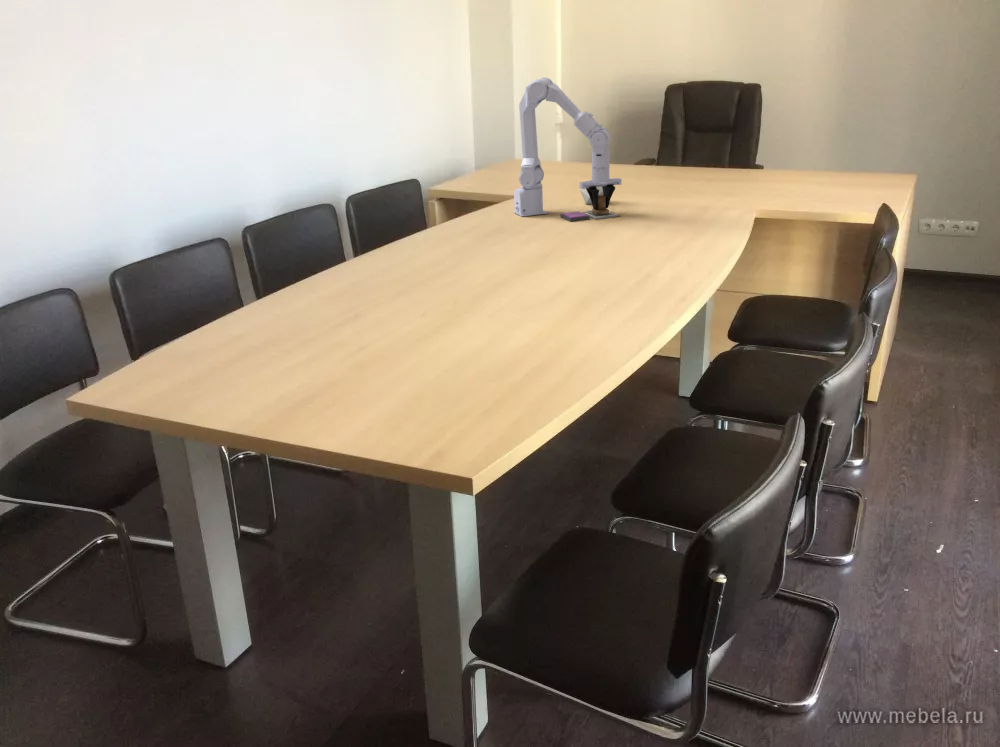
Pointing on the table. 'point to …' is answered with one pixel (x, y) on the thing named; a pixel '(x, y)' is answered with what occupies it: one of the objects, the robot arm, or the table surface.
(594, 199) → the robot arm
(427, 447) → the table surface
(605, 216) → the grey framed plate
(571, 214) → the ink pad
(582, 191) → the die
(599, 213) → the stamp
